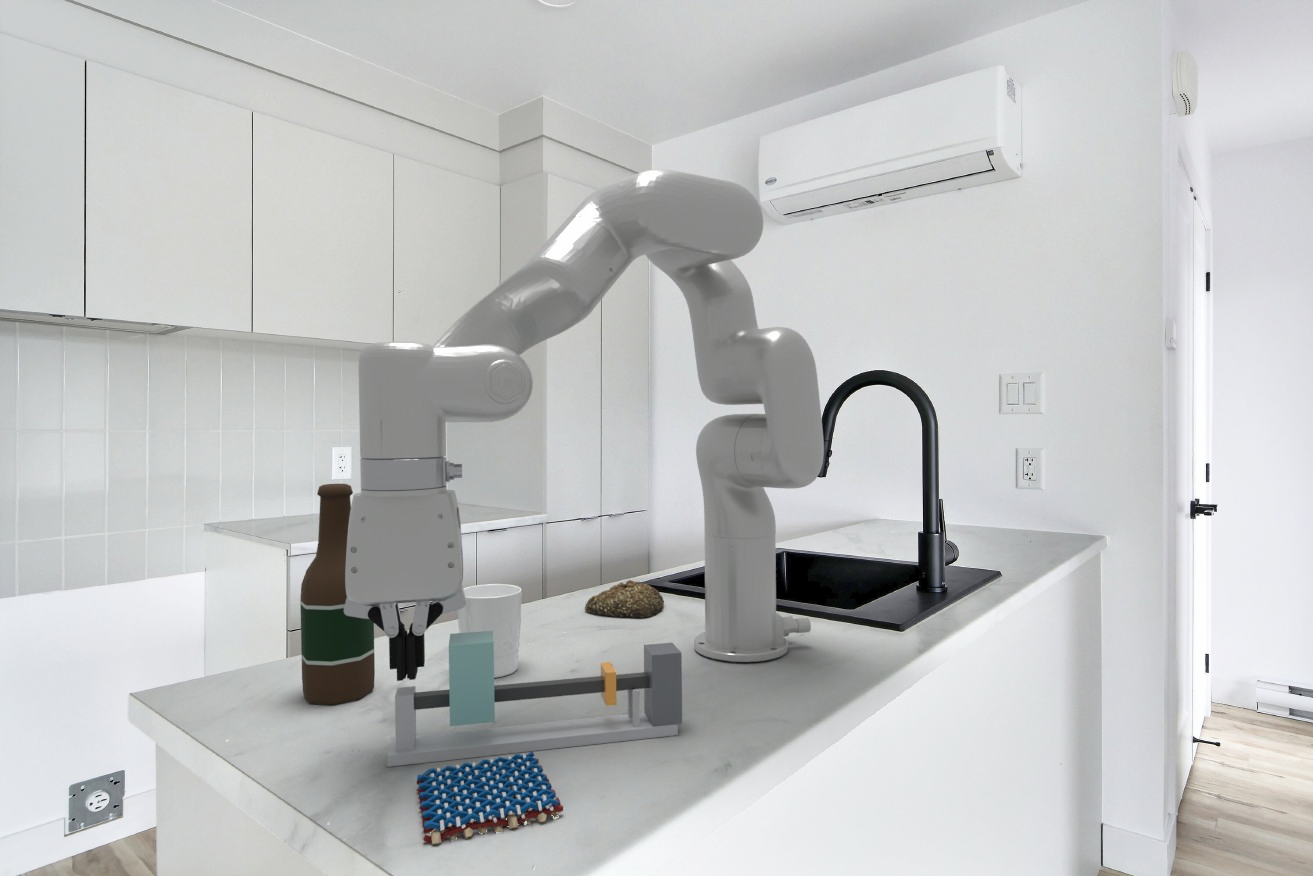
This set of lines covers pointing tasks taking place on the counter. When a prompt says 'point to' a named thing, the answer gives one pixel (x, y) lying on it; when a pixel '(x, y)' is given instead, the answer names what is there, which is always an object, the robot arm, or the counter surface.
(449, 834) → the woven mat
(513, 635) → the white cup
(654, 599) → the bread roll
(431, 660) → the counter surface
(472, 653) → the teal sliding block
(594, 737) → the teal block rod stand
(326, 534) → the beer bottle
